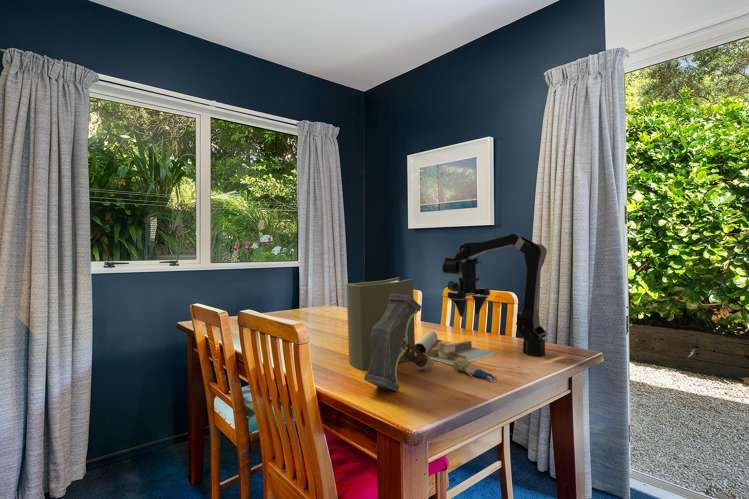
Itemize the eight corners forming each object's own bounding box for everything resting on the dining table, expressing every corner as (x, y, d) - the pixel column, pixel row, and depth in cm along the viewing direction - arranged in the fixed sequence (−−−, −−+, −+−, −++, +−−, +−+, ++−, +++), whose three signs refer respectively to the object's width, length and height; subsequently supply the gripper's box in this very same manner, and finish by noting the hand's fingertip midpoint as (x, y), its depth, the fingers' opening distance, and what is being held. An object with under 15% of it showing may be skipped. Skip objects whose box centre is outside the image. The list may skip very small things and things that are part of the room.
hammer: (428, 339, 140) (389, 285, 122) (451, 344, 134) (414, 289, 116) (394, 413, 127) (346, 366, 109) (419, 423, 122) (372, 374, 103)
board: (499, 356, 147) (499, 346, 147) (457, 367, 134) (457, 357, 134) (468, 348, 158) (468, 339, 158) (426, 358, 145) (426, 349, 145)
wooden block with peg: (468, 361, 138) (468, 346, 138) (460, 363, 135) (460, 348, 135) (446, 355, 146) (446, 341, 146) (438, 357, 143) (438, 342, 143)
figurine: (500, 382, 122) (461, 367, 134) (500, 368, 122) (461, 354, 134) (487, 387, 119) (448, 371, 131) (488, 372, 119) (449, 357, 130)
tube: (424, 331, 172) (409, 345, 148) (436, 328, 170) (423, 341, 147) (428, 343, 171) (414, 359, 148) (440, 340, 170) (428, 355, 146)
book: (360, 372, 132) (357, 284, 131) (347, 365, 140) (344, 282, 139) (415, 360, 143) (412, 279, 142) (400, 354, 151) (397, 277, 150)
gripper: (468, 272, 173) (468, 310, 174) (437, 275, 162) (437, 315, 162) (490, 274, 164) (490, 313, 165) (458, 277, 153) (459, 319, 153)
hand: (469, 315), depth 161 cm, fingers open, 9 cm apart
